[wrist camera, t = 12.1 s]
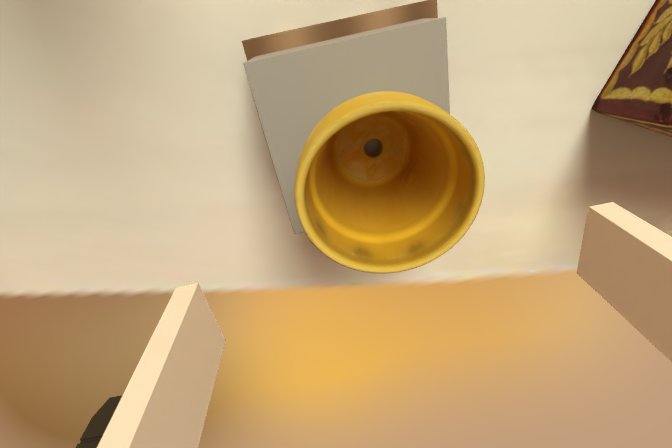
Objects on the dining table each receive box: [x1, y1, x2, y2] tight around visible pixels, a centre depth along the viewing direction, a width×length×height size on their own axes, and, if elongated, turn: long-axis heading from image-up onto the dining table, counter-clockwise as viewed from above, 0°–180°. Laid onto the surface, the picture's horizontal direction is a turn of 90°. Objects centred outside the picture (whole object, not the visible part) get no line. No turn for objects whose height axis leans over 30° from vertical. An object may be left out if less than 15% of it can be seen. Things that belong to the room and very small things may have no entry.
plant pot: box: [294, 91, 485, 273], centre depth 24 cm, size 10×10×10 cm
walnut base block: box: [242, 0, 438, 61], centre depth 35 cm, size 16×16×6 cm
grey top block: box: [243, 18, 450, 234], centre depth 30 cm, size 14×14×6 cm
